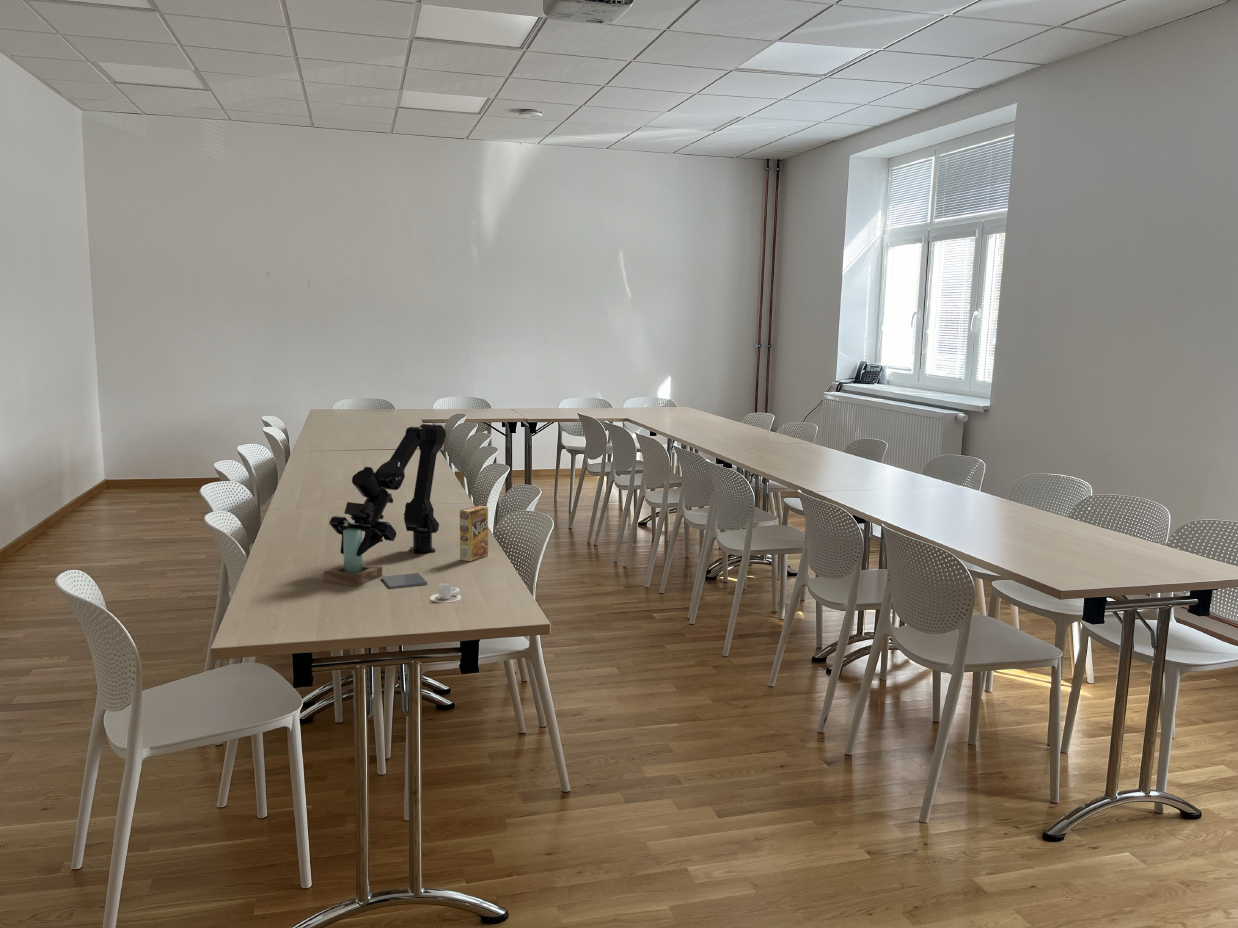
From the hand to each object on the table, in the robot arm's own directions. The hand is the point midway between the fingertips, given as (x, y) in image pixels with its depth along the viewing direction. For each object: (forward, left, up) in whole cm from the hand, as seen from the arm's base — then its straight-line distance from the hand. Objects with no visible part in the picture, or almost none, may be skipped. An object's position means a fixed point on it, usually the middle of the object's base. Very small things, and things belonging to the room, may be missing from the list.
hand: (349, 554), depth 234 cm
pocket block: (-1, +1, -7) cm, 7 cm away
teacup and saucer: (+26, +22, -8) cm, 35 cm away
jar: (-1, +1, -7) cm, 7 cm away
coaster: (+7, +13, -7) cm, 16 cm away
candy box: (-10, +38, -7) cm, 40 cm away
